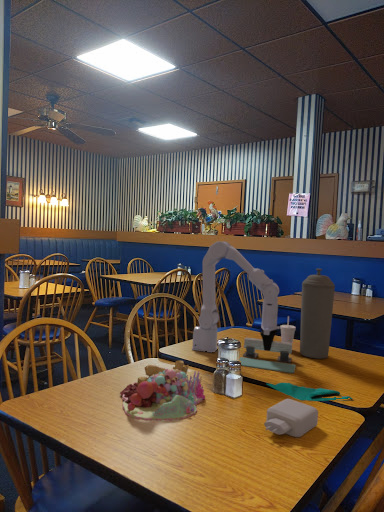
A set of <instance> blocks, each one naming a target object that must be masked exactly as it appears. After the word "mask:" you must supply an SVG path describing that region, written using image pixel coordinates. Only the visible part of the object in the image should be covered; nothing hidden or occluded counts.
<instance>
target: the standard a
mask: <svg viewBox="0 0 384 512" xmlns="http://www.w3.org/2000/svg"><path fill="white" fill-rule="evenodd" d="M245 350H246V351H245V352H244V353H243V355H242V357H243V358H251V359H257V357H258V355H259V353H257V352H256V349H254V348H250V347H246V348H245Z"/></svg>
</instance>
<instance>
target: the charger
mask: <svg viewBox="0 0 384 512" xmlns="http://www.w3.org/2000/svg"><path fill="white" fill-rule="evenodd" d="M266 409H267V410H266V418H265V419H266V420H265V422H264V423H263V425H264V427H265V431H269V432H270V433H272V434H273V433H274V434H276V435H278V436H279V435H284V434H286V435H288V436H291V437H294V438H301V437H302V436H303V435H305V434H306V433H307V432H309V431H310V430H312V429H313V428H315V427H316V426H317V425H318V423H319V419H318V418H319V410H318V409H317V408H315V407H314V406H312V405H309V404H307V403H303V402H300V401H297V400H294V399H292V398H285V399H284V400H281V401H279V402H278V403H276V404H274V405H272V406H271V407H269V408H266Z"/></svg>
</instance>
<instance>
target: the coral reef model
mask: <svg viewBox="0 0 384 512" xmlns="http://www.w3.org/2000/svg"><path fill="white" fill-rule="evenodd" d="M188 370H189V364H185V363H184V361H183V360H176V361H175V364H174V366H173V367H172V368H171V369H169V368H165V367H164V368H163V367H160V366H157V365H154V364H148V365H145V367H144V371H145V376H139V377H137V382H133V383H129V384H128V385H126V387H124V389H122V390H121V391H120V393H119V395H120V396H121V399H122V400H123V402H122V403H121V404H122V409H123V410H124V414H126V416H129V417H131V418H135V419H137V420H144V421H159V422H160V421H170V422H171V421H173V420H183V419H186V418H188V417H191V416H194V415H195V414H196V413H197V412H198V407H197V406H196V405H198V404H200V403H201V402H203V400H206V395H205V394H204V392H205V390H204V386H203V385H202V381H203V380H202V379H203V378H202V376H200V372H199V371H197V373H196V370H195V371H194V373H193V376H192V375H190V376H189V377H190V378H188V375H187V373H188ZM199 377H200V378H199Z"/></svg>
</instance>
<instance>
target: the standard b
mask: <svg viewBox="0 0 384 512" xmlns="http://www.w3.org/2000/svg"><path fill="white" fill-rule="evenodd" d="M292 359H293V358H292V357H291V356H290V354H289V352H281V351H280V355H278V357H277V359H276V362H279V363H287V364H291V362H292Z"/></svg>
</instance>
